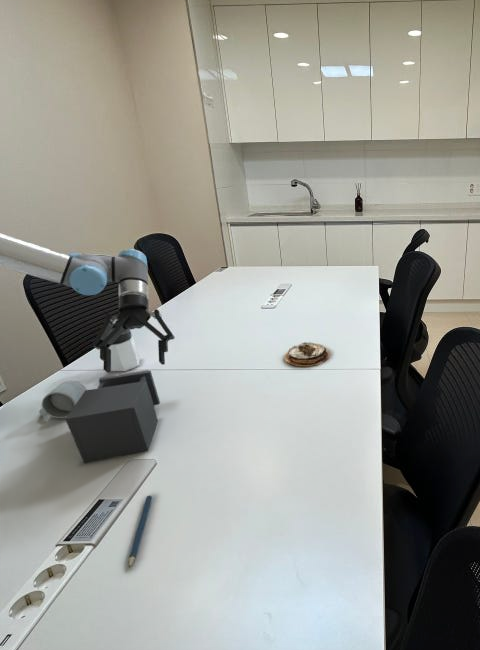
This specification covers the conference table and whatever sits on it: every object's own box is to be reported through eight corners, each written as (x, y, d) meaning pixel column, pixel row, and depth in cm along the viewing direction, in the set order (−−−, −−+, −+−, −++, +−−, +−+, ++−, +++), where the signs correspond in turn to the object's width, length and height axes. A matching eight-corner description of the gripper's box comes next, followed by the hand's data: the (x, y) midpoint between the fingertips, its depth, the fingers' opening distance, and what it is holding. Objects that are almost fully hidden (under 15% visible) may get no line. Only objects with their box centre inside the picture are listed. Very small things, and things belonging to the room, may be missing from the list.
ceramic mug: (93, 399, 108) (83, 375, 105) (80, 416, 101) (69, 391, 98) (51, 405, 106) (40, 381, 103) (34, 423, 99) (21, 397, 96)
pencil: (152, 498, 75) (133, 568, 62) (147, 499, 75) (126, 570, 62) (151, 495, 75) (132, 565, 62) (145, 496, 75) (125, 567, 61)
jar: (146, 360, 130) (136, 327, 125) (130, 372, 122) (119, 337, 118) (121, 359, 131) (111, 326, 126) (104, 371, 123) (92, 337, 118)
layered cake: (339, 354, 130) (338, 343, 128) (304, 371, 120) (303, 359, 118) (310, 342, 139) (309, 332, 137) (275, 357, 129) (274, 346, 127)
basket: (118, 397, 107) (107, 366, 103) (164, 390, 110) (155, 359, 106) (98, 435, 92) (85, 400, 88) (152, 425, 95) (141, 390, 91)
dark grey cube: (101, 431, 95) (85, 390, 90) (158, 420, 98) (145, 380, 94) (83, 463, 85) (65, 419, 80) (148, 450, 88) (133, 407, 83)
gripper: (182, 299, 120) (187, 363, 113) (91, 309, 114) (89, 378, 107) (176, 288, 114) (180, 355, 107) (78, 297, 107) (76, 370, 100)
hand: (135, 367), depth 107 cm, fingers open, 13 cm apart
